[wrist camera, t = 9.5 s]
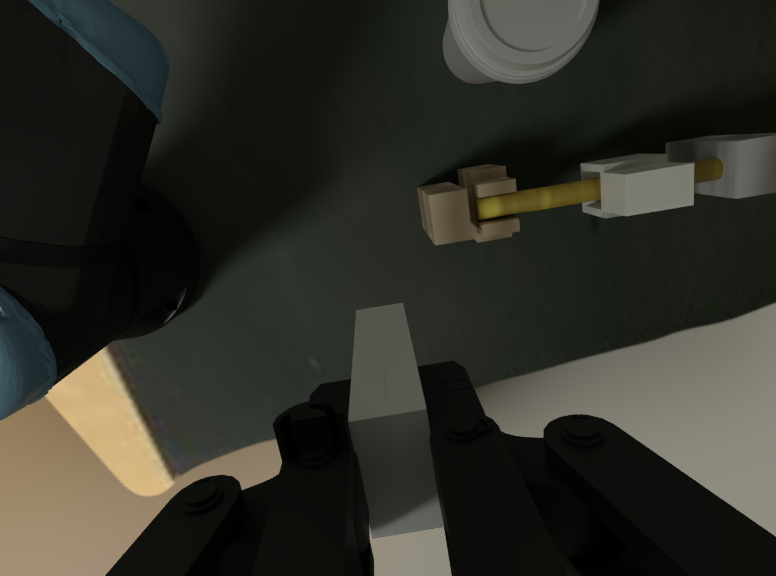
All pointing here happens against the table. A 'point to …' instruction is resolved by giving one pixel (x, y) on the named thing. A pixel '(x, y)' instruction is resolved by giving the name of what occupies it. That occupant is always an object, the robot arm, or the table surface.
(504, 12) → the coffee cup
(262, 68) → the table surface
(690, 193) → the grey stepped block
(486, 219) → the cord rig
